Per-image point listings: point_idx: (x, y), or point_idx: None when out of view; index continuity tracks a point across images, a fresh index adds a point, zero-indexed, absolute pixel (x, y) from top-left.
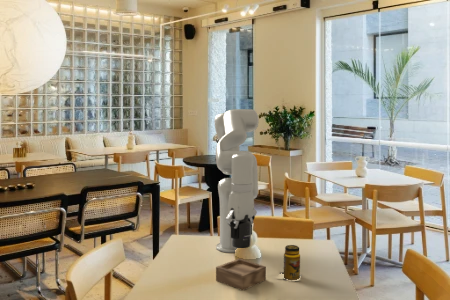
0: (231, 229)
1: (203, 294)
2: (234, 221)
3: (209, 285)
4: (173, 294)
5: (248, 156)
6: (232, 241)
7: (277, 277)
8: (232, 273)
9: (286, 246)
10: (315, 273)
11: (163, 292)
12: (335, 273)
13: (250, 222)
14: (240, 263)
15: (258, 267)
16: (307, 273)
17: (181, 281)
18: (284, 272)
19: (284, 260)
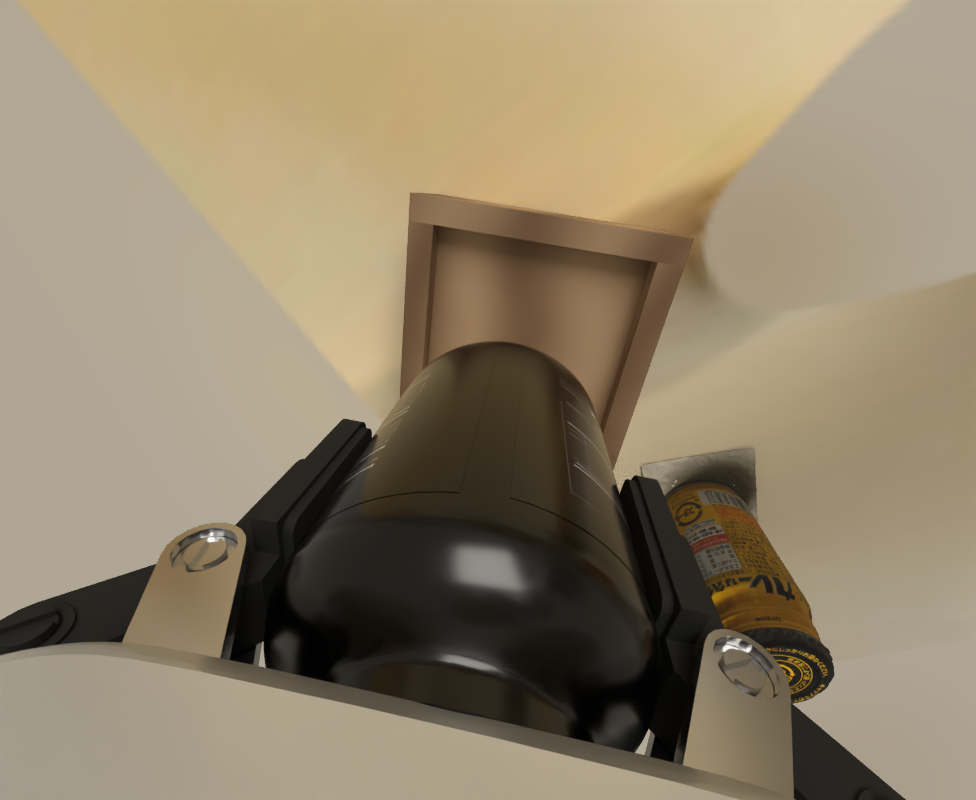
0: (240, 526)
1: (254, 258)
2: (295, 633)
3: (357, 207)
4: (125, 106)
5: None
6: (404, 393)
7: (670, 459)
8: (403, 354)
9: (772, 648)
10: (808, 578)
11: (85, 19)
12: (840, 637)
13: (650, 741)
14: (642, 271)
15: (602, 426)
16: (794, 551)
17: None
18: (678, 512)
19: (702, 564)
